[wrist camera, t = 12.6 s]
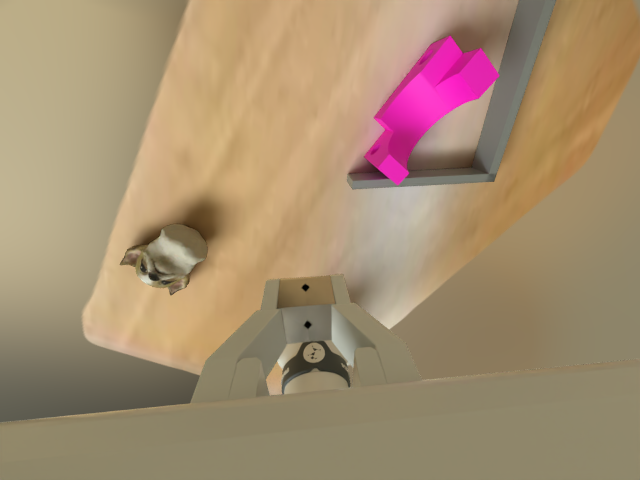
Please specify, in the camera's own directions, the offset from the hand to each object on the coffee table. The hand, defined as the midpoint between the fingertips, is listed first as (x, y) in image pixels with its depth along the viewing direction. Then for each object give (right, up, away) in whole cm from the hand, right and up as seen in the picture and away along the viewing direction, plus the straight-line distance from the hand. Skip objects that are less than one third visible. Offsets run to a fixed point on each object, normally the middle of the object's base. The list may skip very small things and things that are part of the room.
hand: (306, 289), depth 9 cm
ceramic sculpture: (-24, 0, +32) cm, 40 cm away
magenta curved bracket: (+12, +20, +24) cm, 33 cm away
